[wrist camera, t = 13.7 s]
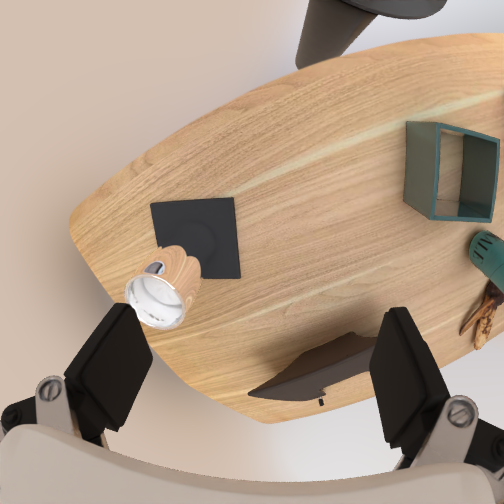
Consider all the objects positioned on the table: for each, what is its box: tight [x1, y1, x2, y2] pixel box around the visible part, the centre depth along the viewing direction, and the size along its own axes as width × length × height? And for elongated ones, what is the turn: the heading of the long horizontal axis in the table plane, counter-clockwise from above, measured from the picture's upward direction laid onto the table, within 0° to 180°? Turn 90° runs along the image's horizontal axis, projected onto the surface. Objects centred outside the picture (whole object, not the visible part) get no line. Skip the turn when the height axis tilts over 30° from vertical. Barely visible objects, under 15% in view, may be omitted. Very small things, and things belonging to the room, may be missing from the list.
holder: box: [403, 121, 500, 223], centre depth 27 cm, size 11×11×8 cm
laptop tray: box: [248, 332, 378, 406], centre depth 43 cm, size 23×23×9 cm
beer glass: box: [124, 222, 216, 330], centre depth 31 cm, size 7×7×15 cm
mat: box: [150, 197, 241, 279], centre depth 38 cm, size 12×12×1 cm
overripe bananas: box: [460, 281, 504, 350], centre depth 38 cm, size 9×5×18 cm
